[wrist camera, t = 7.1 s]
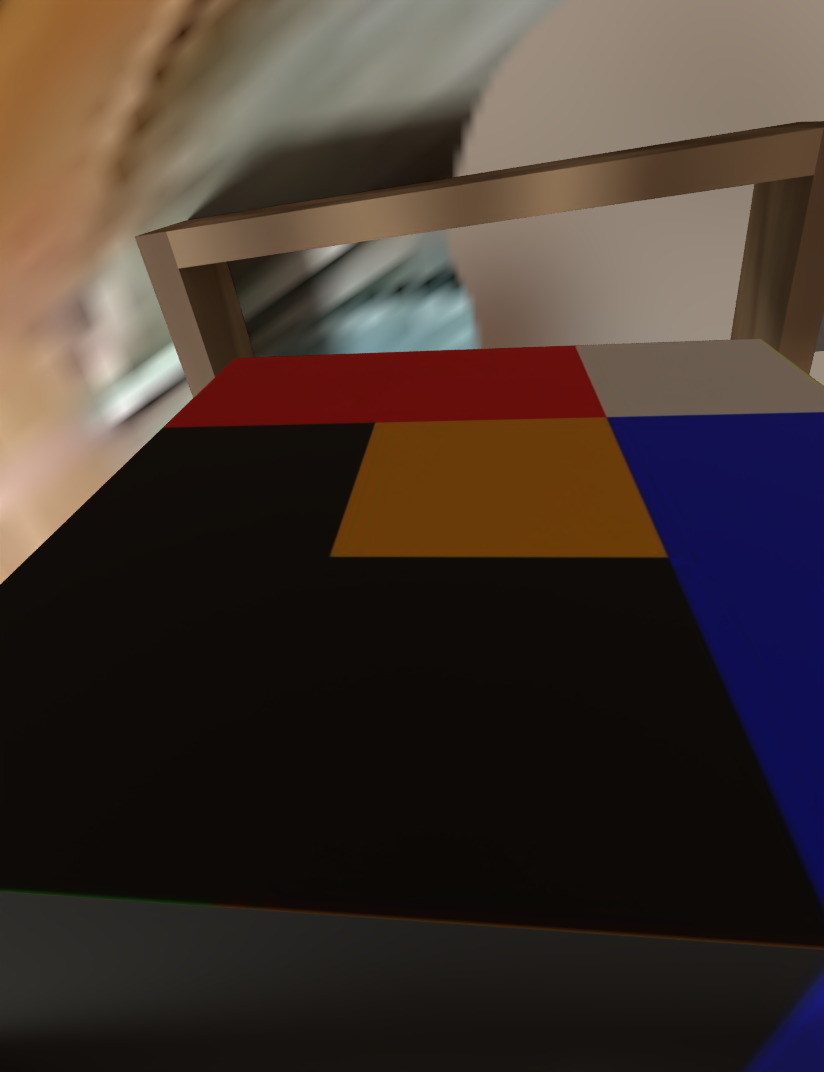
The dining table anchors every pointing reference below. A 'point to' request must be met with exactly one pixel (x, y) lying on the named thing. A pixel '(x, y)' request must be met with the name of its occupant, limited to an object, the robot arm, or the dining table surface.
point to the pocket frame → (585, 182)
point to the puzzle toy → (429, 725)
